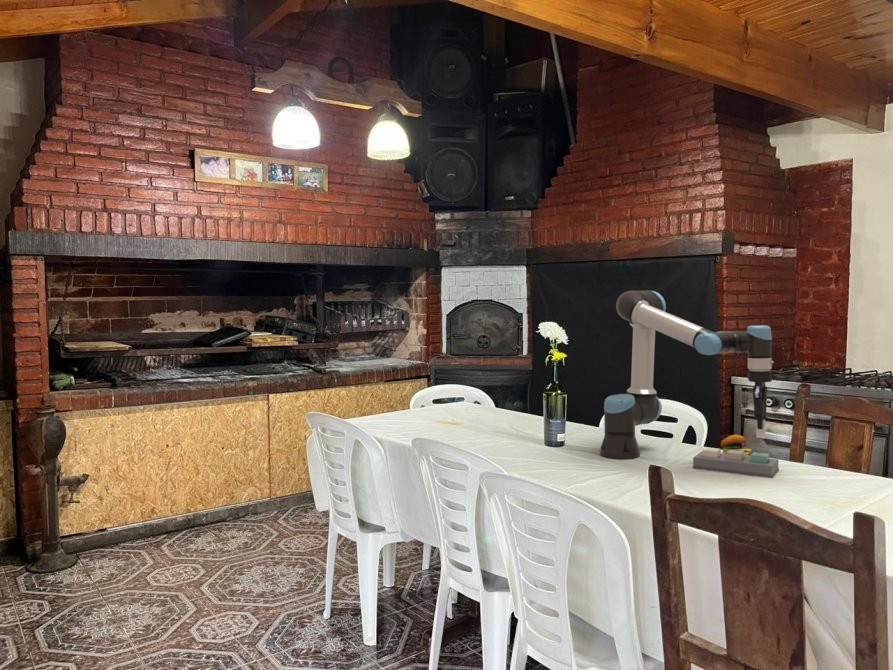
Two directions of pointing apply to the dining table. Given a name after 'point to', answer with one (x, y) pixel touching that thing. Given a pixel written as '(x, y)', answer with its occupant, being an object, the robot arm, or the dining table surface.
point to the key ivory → (711, 452)
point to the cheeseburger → (735, 444)
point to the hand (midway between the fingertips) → (760, 437)
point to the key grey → (735, 455)
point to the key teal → (760, 457)
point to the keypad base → (736, 465)
